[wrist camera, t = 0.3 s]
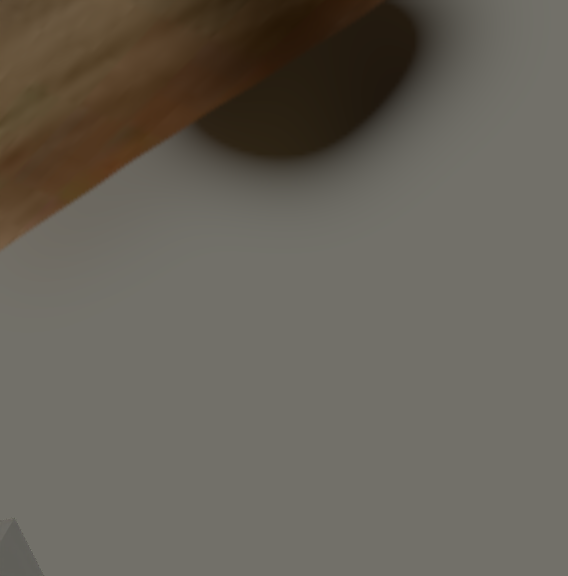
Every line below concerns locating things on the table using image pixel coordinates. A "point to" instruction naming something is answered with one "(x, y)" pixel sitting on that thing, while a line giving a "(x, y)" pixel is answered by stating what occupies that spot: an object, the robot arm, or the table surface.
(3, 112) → the table surface
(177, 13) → the table surface
